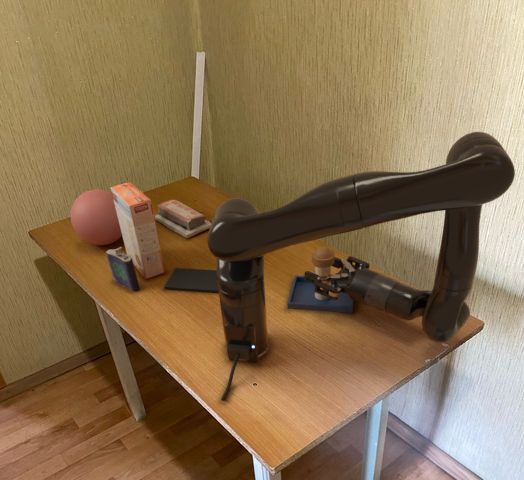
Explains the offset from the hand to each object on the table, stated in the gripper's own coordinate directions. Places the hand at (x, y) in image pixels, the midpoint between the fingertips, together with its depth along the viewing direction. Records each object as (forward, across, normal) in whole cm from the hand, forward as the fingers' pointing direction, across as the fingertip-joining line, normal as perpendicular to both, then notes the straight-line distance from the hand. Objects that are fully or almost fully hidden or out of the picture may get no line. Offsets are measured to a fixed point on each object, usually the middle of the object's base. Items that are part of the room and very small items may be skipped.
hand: (316, 267), depth 124 cm
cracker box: (+45, +17, +8) cm, 49 cm away
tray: (-2, 0, +8) cm, 8 cm away
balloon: (+65, +13, +8) cm, 67 cm away
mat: (+26, +12, +8) cm, 29 cm away
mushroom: (-2, 0, +8) cm, 8 cm away
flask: (+42, +26, +8) cm, 50 cm away
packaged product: (+54, -5, +8) cm, 55 cm away
